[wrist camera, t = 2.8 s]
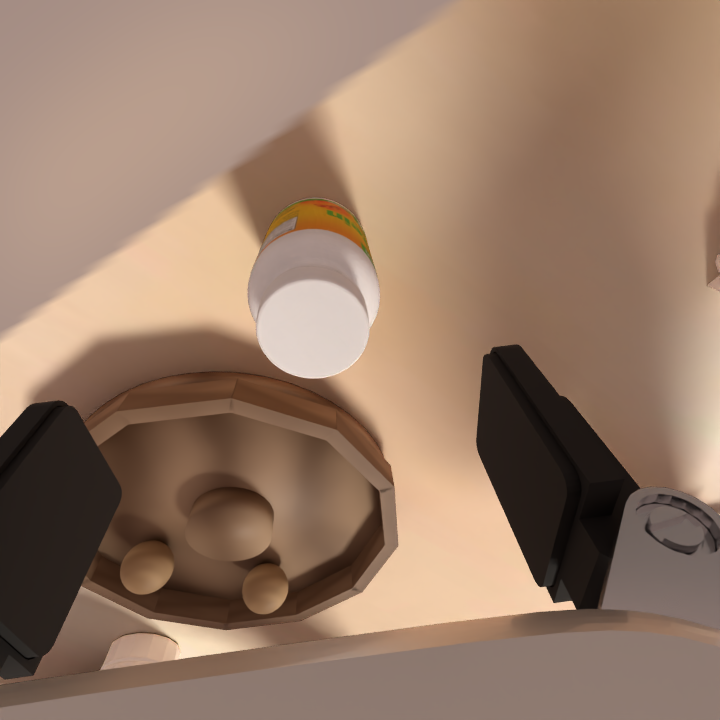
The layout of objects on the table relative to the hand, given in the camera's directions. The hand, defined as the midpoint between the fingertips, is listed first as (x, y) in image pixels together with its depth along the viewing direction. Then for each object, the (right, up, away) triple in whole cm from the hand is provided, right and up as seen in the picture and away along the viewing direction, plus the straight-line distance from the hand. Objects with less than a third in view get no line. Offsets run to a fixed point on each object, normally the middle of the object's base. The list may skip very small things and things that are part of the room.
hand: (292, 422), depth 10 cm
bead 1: (-14, -13, +23) cm, 30 cm away
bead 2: (-6, -16, +26) cm, 31 cm away
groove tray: (-8, -9, +23) cm, 26 cm away
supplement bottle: (-1, +8, +13) cm, 15 cm away
